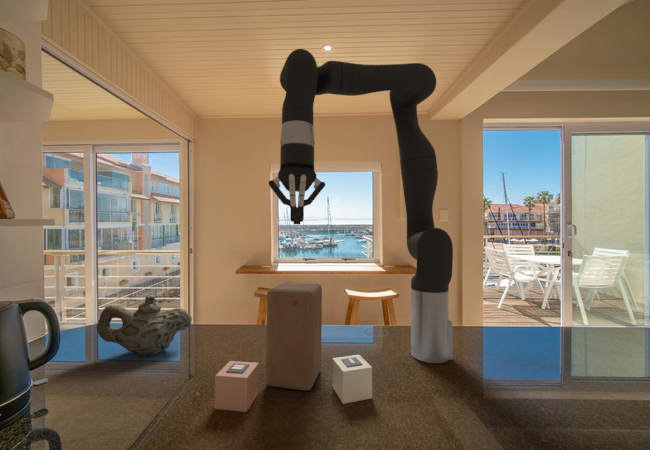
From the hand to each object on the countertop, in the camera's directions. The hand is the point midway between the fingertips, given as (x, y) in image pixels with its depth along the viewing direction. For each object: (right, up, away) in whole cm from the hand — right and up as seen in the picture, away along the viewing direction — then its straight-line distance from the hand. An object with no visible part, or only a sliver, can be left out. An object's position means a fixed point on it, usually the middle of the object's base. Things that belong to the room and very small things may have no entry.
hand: (296, 224), depth 64 cm
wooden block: (0, -34, -1) cm, 34 cm away
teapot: (-40, -34, +12) cm, 54 cm away
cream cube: (+12, -34, -6) cm, 36 cm away
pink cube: (-10, -33, -9) cm, 36 cm away
